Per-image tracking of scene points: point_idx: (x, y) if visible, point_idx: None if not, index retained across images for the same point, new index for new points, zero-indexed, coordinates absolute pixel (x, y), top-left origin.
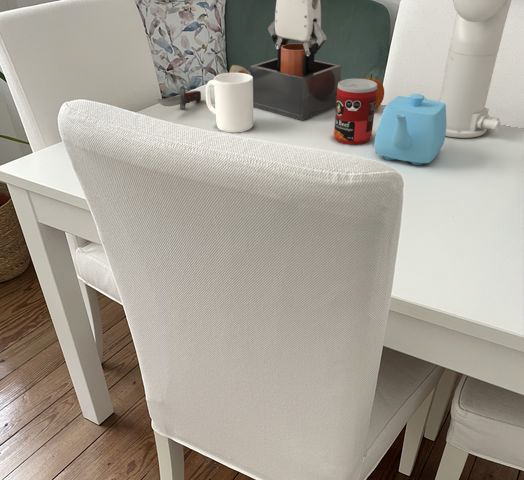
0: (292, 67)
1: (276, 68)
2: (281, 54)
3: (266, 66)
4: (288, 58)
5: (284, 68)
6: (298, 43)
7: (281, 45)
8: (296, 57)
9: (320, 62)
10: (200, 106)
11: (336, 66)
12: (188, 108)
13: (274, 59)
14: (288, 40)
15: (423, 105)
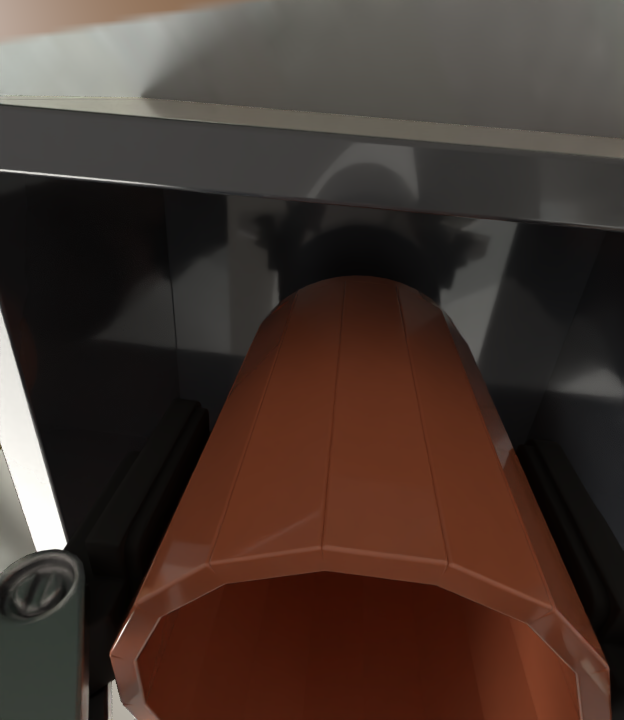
0: (405, 614)
1: (80, 362)
2: (246, 696)
3: (83, 507)
4: (364, 702)
5: (320, 595)
6: (244, 571)
7: (96, 679)
8: (453, 708)
9: (584, 222)
10: (20, 530)
11: None
12: (14, 561)
13: (12, 416)
14: (79, 675)
15: None
